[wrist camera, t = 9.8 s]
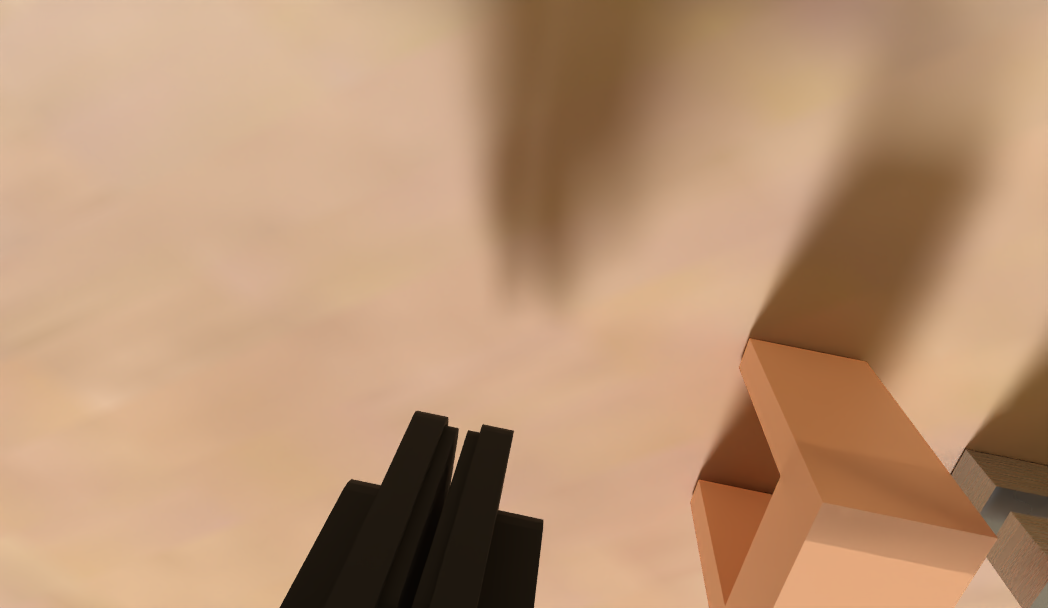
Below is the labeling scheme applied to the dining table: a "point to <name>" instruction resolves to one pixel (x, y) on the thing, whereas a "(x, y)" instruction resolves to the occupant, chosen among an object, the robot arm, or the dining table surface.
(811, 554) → the collar
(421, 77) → the dining table surface
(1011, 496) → the tongs fixed arm
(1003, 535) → the tongs hinged arm
